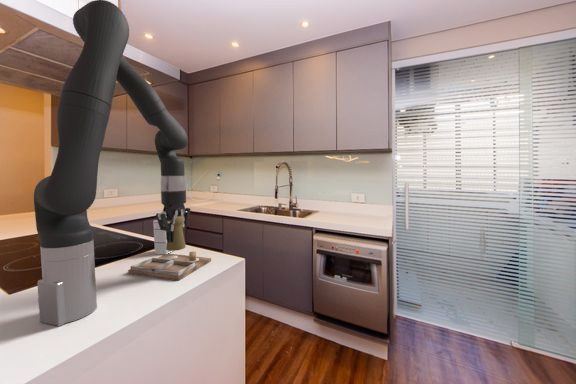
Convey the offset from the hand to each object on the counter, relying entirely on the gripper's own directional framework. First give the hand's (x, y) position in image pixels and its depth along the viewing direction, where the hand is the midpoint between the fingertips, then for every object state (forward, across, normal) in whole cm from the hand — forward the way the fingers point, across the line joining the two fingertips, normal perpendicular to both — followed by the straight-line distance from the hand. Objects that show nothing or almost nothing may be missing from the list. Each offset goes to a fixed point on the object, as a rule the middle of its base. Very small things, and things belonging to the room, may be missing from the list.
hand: (175, 240), depth 81 cm
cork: (+3, 0, 0) cm, 3 cm away
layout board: (+11, +4, +5) cm, 13 cm away
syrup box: (+12, +17, +20) cm, 29 cm away
